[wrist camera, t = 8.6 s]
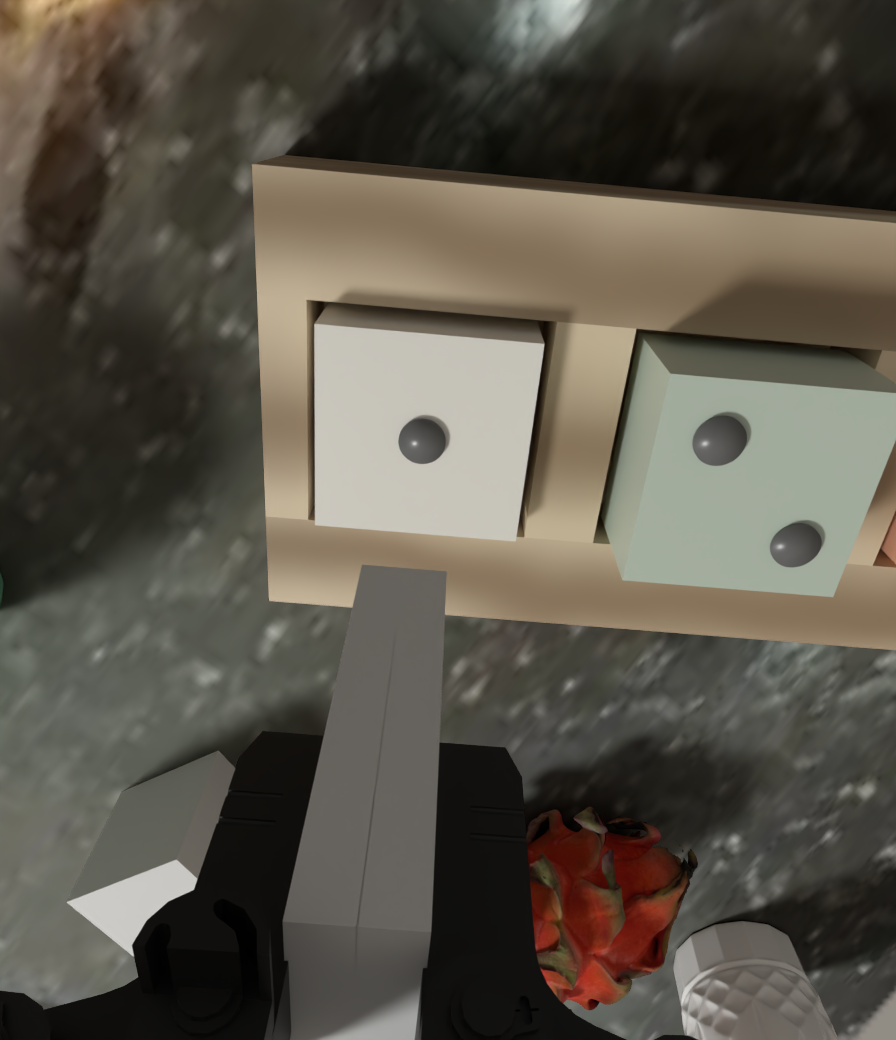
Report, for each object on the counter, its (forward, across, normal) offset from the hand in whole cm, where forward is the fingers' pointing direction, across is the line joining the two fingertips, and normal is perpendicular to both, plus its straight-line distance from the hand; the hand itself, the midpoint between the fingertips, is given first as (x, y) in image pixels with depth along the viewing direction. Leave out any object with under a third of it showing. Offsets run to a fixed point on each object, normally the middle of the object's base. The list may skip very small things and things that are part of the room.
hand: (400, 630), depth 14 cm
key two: (+12, +9, -1) cm, 15 cm away
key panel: (+15, +9, -1) cm, 17 cm away
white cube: (+15, -10, -24) cm, 29 cm away
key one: (+14, 0, -1) cm, 14 cm away
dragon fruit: (+15, +8, -24) cm, 29 cm away
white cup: (+15, +19, -33) cm, 41 cm away
